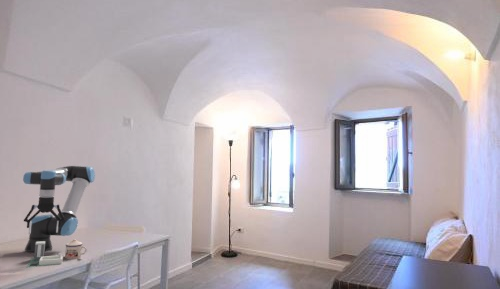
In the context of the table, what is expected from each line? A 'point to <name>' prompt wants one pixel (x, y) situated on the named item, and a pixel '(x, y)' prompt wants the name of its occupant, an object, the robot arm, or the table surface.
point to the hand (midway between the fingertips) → (43, 232)
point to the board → (36, 263)
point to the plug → (39, 250)
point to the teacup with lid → (74, 249)
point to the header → (51, 260)
